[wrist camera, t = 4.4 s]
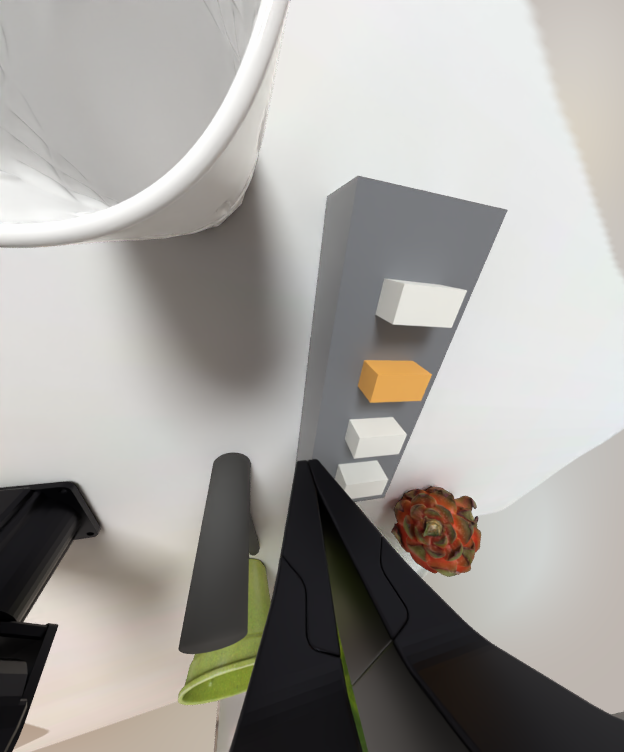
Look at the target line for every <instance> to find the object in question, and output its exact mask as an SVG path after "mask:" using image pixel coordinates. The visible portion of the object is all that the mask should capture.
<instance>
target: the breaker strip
mask: <svg viewBox="0 0 624 752" xmlns="http://www.w3.org/2000/svg"><path fill="white" fill-rule="evenodd" d="M506 212H507V210H506V209H501V208H497V207H492V206H488V205H484V204H479V203H475V202H471V201H466V200H462V199H458V198H453V197H449V196H444V195H440V194H436V193H431V192H427V191H423V190H418V189H414V188H410V187H405V186H401V185H396V184H392V183H388V182H383V181H379V180H375V179H370V178H366V177H362V176H357V177H355V178H354V179H352V180H351V181H349V182H348V183H346V184H345V185H343V186H342V187H341V188H339V189H338V190H336V191H335V192H333V193H332V194H330V195H329V196H327V203H326V211H325V220H324V228H323V237H322V246H321V254H320V263H319V271H318V280H317V288H316V297H315V305H314V314H313V322H312V331H311V339H310V348H309V357H308V365H307V374H306V382H305V391H304V399H303V408H302V416H301V425H300V433H299V442H298V451H297V459H296V462H297V461H298V460H309V459H318V460H319V461H320V462H321V464H322V465H323V466H324V467H325V468H326V470H327V471H328V472H329V473H330V474H331V475H332V477H333V478H334V479H335V480H336V481H337V482H338V484H339V485H340V486H341V487H342V488H343V490H344V491H345V492H346V493H347V494H348V495H349V497H350V498H351V499H352V500H353V501H354V502H357V501H364V500H370V499H377V498H383V497H385V494H386V492H387V490H388V487H389V485H390V483H391V480H392V478H393V476H394V473H395V471H396V469H397V466H398V464H399V462H400V459H401V457H402V455H403V452H404V450H405V448H406V445H407V443H408V441H409V438H410V436H411V434H412V431H413V429H414V427H415V424H416V422H417V420H418V417H419V415H420V413H421V410H422V408H423V406H424V403H425V401H426V399H427V396H428V394H429V392H430V389H431V387H432V385H433V382H434V380H435V378H436V376H437V373H438V371H439V369H440V366H441V364H442V362H443V359H444V357H445V355H446V352H447V350H448V348H449V345H450V343H451V341H452V338H453V336H454V334H455V331H456V329H457V327H458V324H459V322H460V320H461V317H462V315H463V313H464V310H465V308H466V306H467V303H468V301H469V299H470V296H471V294H472V292H473V289H474V287H475V285H476V282H477V280H478V278H479V275H480V273H481V271H482V268H483V266H484V264H485V261H486V259H487V257H488V254H489V252H490V250H491V247H492V245H493V243H494V240H495V238H496V236H497V233H498V231H499V229H500V226H501V224H502V222H503V219H504V217H505V215H506Z"/></svg>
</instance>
